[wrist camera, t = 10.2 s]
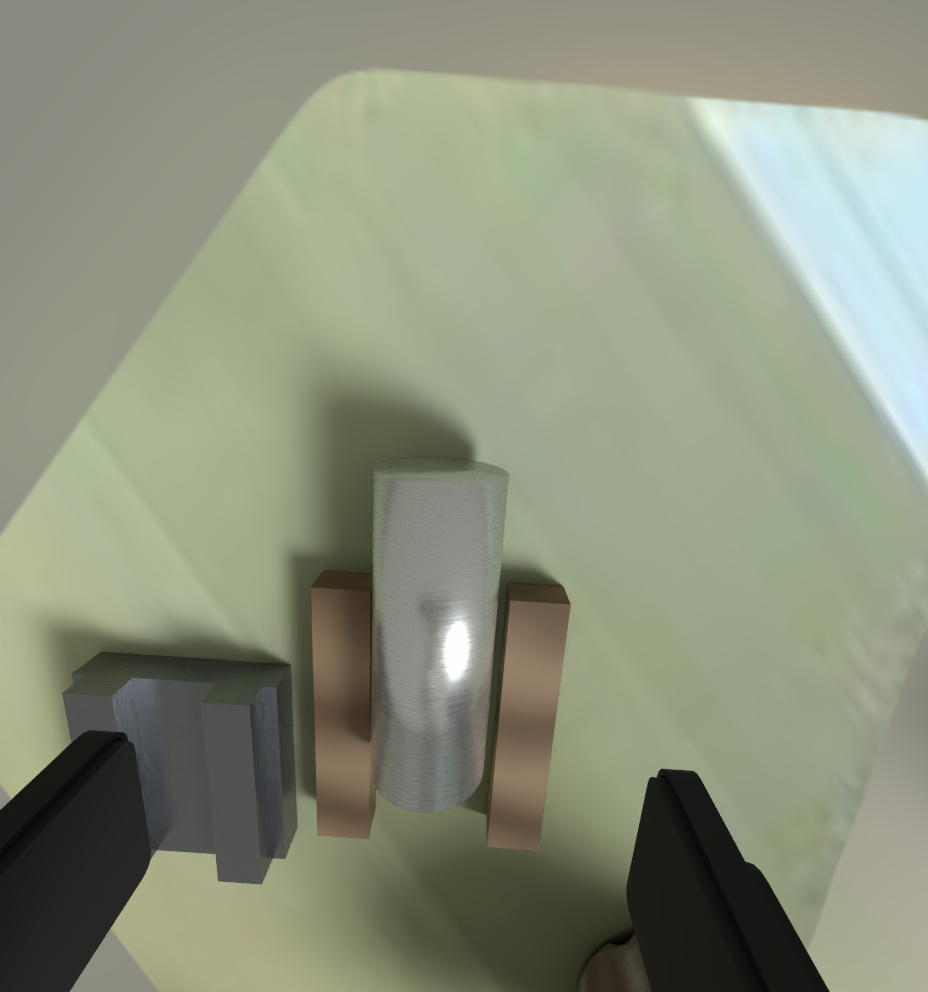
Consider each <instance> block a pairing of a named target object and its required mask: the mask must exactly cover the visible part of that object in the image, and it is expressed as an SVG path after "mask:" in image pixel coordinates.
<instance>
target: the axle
mask: <svg viewBox="0 0 928 992" xmlns="http://www.w3.org/2000/svg"><path fill="white" fill-rule="evenodd" d="M508 479H509V474H508V472H507V471H505V470H504V469H502V468H500V467H497V466H494V465H491V464H487V463H483V462H478V461H472V460H465V459H449V458H433V457H412V458H400V459H393V460H388V461H384V462H381V463H379V464H377V465H375V466H374V468H373V571H372V687H371V774H372V779H373V781H374V784H375V786H376V787H377V789H378V791H379V792H380V793H381V794H382V795H383V796H384V797H385V798H386V799H387V800H388V801H390V802H391V803H393V804H394V805H396V806H398V807H401V808H403V809H406V810H409V811H414V812H423V813H430V812H439V811H444V810H447V809H450V808H452V807H455V806H457V805H459V804H460V803H462V802H464V801H465V800H466V799H467V798H469V797H470V796H471V795H472V794H473V793H474V791H475V790H476V789H477V787H478V786H479V784H480V782H481V779H482V776H483V770H484V759H485V747H486V736H487V724H488V712H489V701H490V689H491V677H492V666H493V654H494V643H495V631H496V619H497V608H498V596H499V584H500V573H501V561H502V549H503V538H504V526H505V514H506V503H507V491H508Z"/></svg>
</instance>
